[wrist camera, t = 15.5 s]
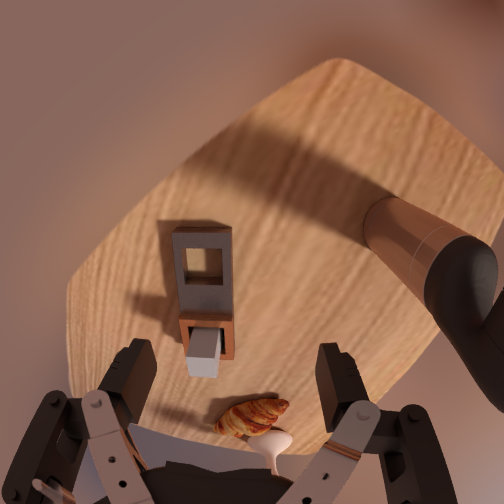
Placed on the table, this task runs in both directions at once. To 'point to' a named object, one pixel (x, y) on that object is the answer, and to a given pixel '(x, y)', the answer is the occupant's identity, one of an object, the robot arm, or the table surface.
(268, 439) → the flower in vase
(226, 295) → the socket
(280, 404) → the croissant
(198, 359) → the peg
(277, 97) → the table surface
